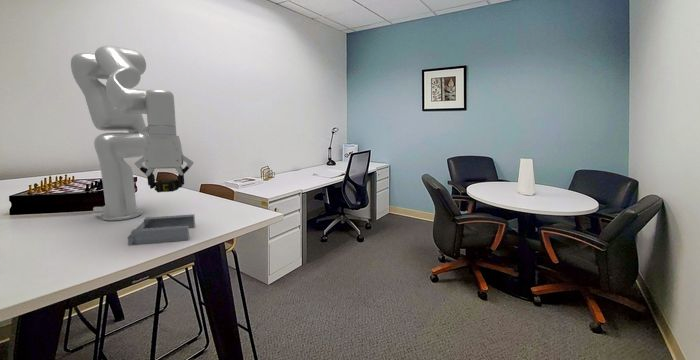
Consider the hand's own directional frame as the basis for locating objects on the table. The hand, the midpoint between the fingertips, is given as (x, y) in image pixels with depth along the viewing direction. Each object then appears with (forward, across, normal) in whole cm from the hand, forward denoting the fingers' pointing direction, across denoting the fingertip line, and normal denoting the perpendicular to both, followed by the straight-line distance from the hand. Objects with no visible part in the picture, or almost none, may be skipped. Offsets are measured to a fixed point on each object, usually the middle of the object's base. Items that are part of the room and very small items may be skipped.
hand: (166, 186), depth 103 cm
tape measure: (+2, 0, -1) cm, 2 cm away
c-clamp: (+16, -1, +1) cm, 16 cm away
